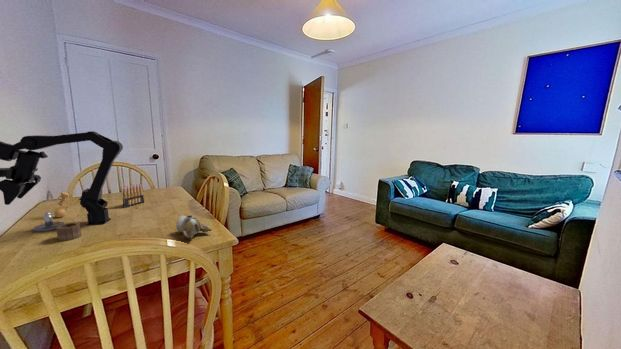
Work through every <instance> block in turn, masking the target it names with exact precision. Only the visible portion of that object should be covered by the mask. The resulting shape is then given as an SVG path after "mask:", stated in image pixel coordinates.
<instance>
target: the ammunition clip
mask: <svg viewBox="0 0 621 349" xmlns="http://www.w3.org/2000/svg"><path fill="white" fill-rule="evenodd" d="M122 197H123V198H122V203H123V204H122V206H123V207H122V208H125V209H126V208H130V206H131V207H133V206H134V205H135V206H138V205H141V203H142V204H144V203H145V197H144V194H143V186H142V184H141V183H139V184H138V183H136V185H135V184H133V186H132V185H130V186H128V185H126V187H125V186H123V187H122ZM137 204H138V205H137Z"/></svg>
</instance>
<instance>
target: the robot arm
mask: <svg viewBox="0 0 621 349" xmlns="http://www.w3.org/2000/svg"><path fill="white" fill-rule="evenodd" d="M87 141H90V142H92V143H94V144H95V145H97V147H100V148H102V155H101V156H102V157H101V162H100V164H99V166H98V168H97V170H96V173H95V176H94V177H93V180H92V183H91V185H90V187H89V188H88V187H87V188H86V189H84V190H83V191H82V192H81V196H80V198H79V199H78V200H79V205H80V206H81V207H82V208H83V209H85V211H87V213H86V216H87V218H86V219H87V223H86V225H91V226H92V225H104V224H106V223H107V222H110V220H112V218H111V217H109V215H110V214H109V208H108V204H109V202H108V201H106V200H105V199H103V188H104V185H105V183H106V181H107V179H108V176H109V174H110V171H111V168H112V166H113V164H114V161H115V160H116V159H117V158H118V157H119V155H120V154H121V153H122V151H123V149H124V145H123V143H121V142H120V141H118V140H112V139H111V138H109V137H106V136H104V135H102V134H100V133H98V132H97V131H92V130H91V131H87V132H79V133H78V132H77V133H68V134H60V135H59V134H58V135H40V134H39V135H38V134H37V135H34V134H33V135H25V136H23V137H21V139H20V141H18V142H16V143H14V144H10V143H7V142H4V141H1V140H0V160H1V161H6V162H11V161H13V160H14V161H15V163H14V165H11V166H9V167H0V178H5V179H3V180H0V191H1V192H2V194H3V200H4V201H3V202H4V205H6V206H9V205H11V204H12V202H14V201H15V200H16V198H17V199H22V198H23V197H24V196H25V195H27V194H28V193H29V192H30V191H31V190H32V189H34V187H36V185H38V183H40V182H41V181H42V180H41V179H42V177H41V176H40V175H39V174H36V172H38V170H39V168H37V167H38V165H39V161H40V159H46V158H49V156H48V154H46V153H45V151H37V150H43V149H46V148H50V147H54V146H56V145H63V144H71V143H72V144H73V143H80V142H87Z"/></svg>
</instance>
